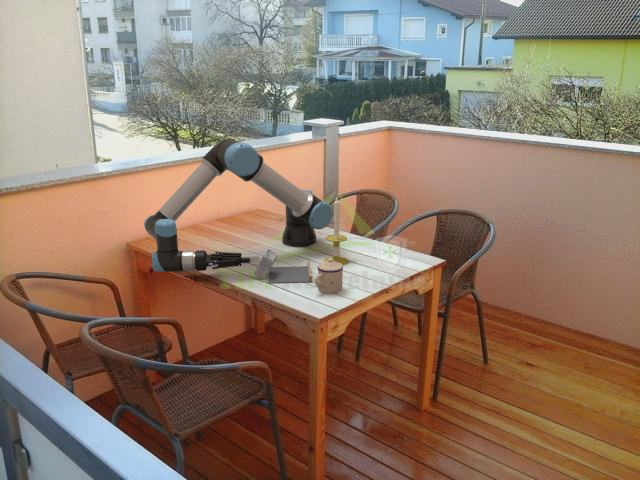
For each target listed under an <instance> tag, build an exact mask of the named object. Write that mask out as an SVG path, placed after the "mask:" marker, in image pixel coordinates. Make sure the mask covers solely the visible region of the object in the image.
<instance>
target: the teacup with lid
mask: <svg viewBox="0 0 640 480" xmlns="http://www.w3.org/2000/svg"><path fill="white" fill-rule="evenodd" d="M327 258H328V257H327ZM343 270H344V265H342V264H341V263H339V262H336V261H333V259H332V258H328V261H325V262H324V261H323V262H320V263H318V265H317V275H316V276H315V278H314V285H315V286H316V287H317V289H318V292H320V293H322V294H327V295H333V294H334V295H335V294H339V293H341V292H342V291H343V276H344V275H343V274H344V273H343Z"/></svg>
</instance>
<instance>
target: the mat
mask: <svg viewBox="0 0 640 480" xmlns="http://www.w3.org/2000/svg"><path fill="white" fill-rule="evenodd" d="M311 266H312V265H311V261H309V260H307V265H301V266H300V265H299V266H295V265H294V266H272V267H271V269H270V271H269V272H268V284H269V285H270V284H273V285H274V284H300V283H301V284H303V283H304V284H305V283H310V284H311V283H313V274H312V273H313V272H312V267H311Z"/></svg>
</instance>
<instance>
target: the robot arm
mask: <svg viewBox="0 0 640 480" xmlns="http://www.w3.org/2000/svg"><path fill="white" fill-rule="evenodd" d="M264 161H265V159H264V157H263V156H262V155H261V154H260V153H258V151H257V150H256V149H255V148H254V147H253V146H252V145H251V144H249V143H245V142H241V141H238V140H235V139H231V138H225V139H222V140H220V141H219V142H217V143H215V145H214V146H213V147H211V148H210V149H209V150H208V151H207V153H205V155H203V157H202V158H201V163H200V164H199V165H198V167H197V168H196V169H195V170H194V171H193V172H192V173H191V174H190V175H189V176H188V178H187V179H186V180H185V181H184V182H183V183H182V184H181V185H180V186H179V187H178V188H177V190H176V191H175V192H174V193H173V194H172V195H171V196H170V197H169V198H168V200H167V201H166V202H165V203H164V204H163V205H162V206H161V207H160V209H158V211H157V212H156V213H154V214H151V215H148V216H147V217H146V218H145V220H144V223H143V227H144V229H145V231H146V232H147V234H148V235H149V236H151V237H152V238H153V239H154V240H155V241H156V248H157V249H156V250H157V251H154V252H152V255H151V267H152V270H153V271H154V272H156V273H157V272H159V273H161V272H162V273H163V272H164V273H169V272H170V273H171V272H187V273H190V272H192V271H193V272H194V271H197V272H202V271H207V269H208V268H209V267H211V268H212V270H217V269H223V268H234V267H242V264H245V265H247V264H259V263H260V254H242V252H224V251H215V253H211V254H207V251H206V250H196V251H195V250H179V245H178V244H179V243H178V228H177V224H176V221H177V220H178V219H180V217H181V216H182V215H183V214H184V212H185V211H186V210H187V209H188V208H189V207H190V206H191V205H192V204H193V202H195V201H196V199H197V198H198V197H199V196H200V195H201V194H202V193H203V192H204V190H205V189H206V188H208V186H209V185H210V184H211V183H212V182H213V180H214V179H215V178H216V177H220V176H221V175H223V174H224V173H225V172H226V171H229V172H231V173H232V174H234V175H235V176H236V177H238V178H239V179H241V180H242V181H244V182H252V183H254V184H255V185H256V186H258V187H259V188H260V189H262V190H263V191H265V192H266V193H268V194H269V195H271V196H272V197H274V198H275V199H277V200H278V201H279V202H280V203H282V204H284V206H285V228H284V231H283V234H282V243H283V244H284V245H286V246H287V247H296V248H297V247H298V248H302V247H309V246H312V245H315V244H316V243H317V234H316V232H315V230H323V229H325V228H326V227H328V226H329V225H330V223H331V221H332V219H333V217H334V209H333V207H332V206H331V205H330V203H328V202H327V201H324V200H322V199H320V198H319V197H317V196H316V195H315V194H313V191H312V190H311V189H310V190H309V189H300V188H299V187H298V186H297V185H295V184H294V183H292V182H291V181H290V180H288V179H287V178H286V177H285V176H283V175H281V174H280V173H278V172H277V171H276V170H275V169H273V168H272V167H270V166H269V165H268V164H266V163H265V162H264Z"/></svg>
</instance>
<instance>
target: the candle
mask: <svg viewBox="0 0 640 480" xmlns="http://www.w3.org/2000/svg"><path fill="white" fill-rule="evenodd" d="M325 240H326V241H328V242H331V243H333V244H332V245H333V246H332V250H333V251H332V252H333V253H332V254H333V255H332V256H328V257H326V258H325V259H324V260H323V262H325V261H328V258H332V259H333V261H336V262H339V263H341V264H342V265H343V266H344V265H347V264H348V263H349V259H348V258H347V257H345V256H340V253H341V251H340V249H341V247H340V246H341V245H340V243H342V242H343V243H344V242H346V241H347V240H348V237H347V236H346V235H341V234H340V201H339V198H338V197H335V201H334V202H333V234H330V235H328V236H326V237H325Z"/></svg>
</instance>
